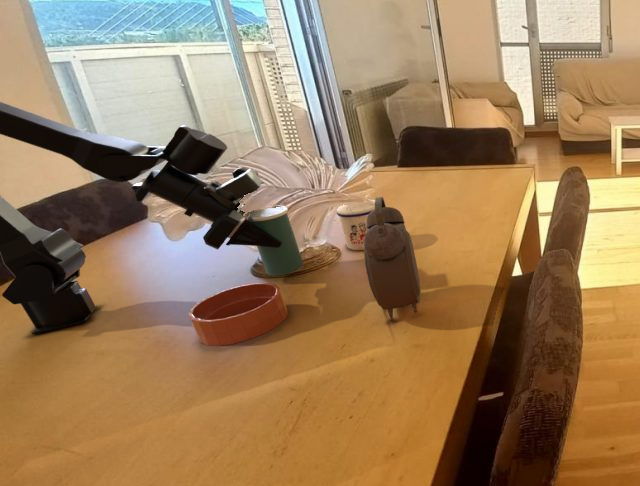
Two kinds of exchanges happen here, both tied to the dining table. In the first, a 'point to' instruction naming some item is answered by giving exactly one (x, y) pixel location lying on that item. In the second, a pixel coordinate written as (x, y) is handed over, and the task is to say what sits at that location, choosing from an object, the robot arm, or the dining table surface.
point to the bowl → (238, 314)
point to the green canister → (280, 228)
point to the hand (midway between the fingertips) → (284, 239)
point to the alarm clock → (390, 259)
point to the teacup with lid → (355, 223)
